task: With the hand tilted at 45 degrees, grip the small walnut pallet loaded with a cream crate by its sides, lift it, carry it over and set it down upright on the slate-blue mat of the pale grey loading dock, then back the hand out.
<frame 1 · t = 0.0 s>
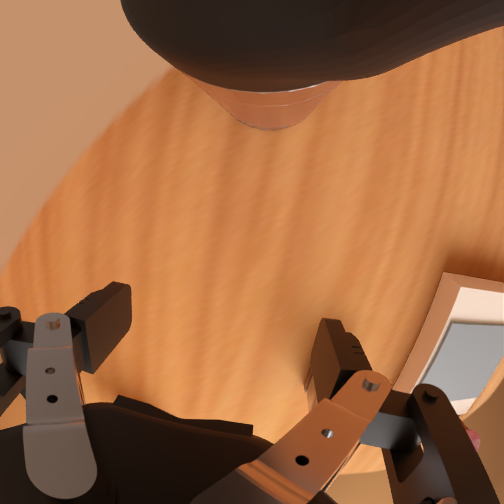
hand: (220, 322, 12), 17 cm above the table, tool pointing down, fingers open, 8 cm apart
cupcake: (443, 423, 37), on the table
loading dock: (453, 347, 31), on the table
loaded pallet: (328, 373, 33), on the table
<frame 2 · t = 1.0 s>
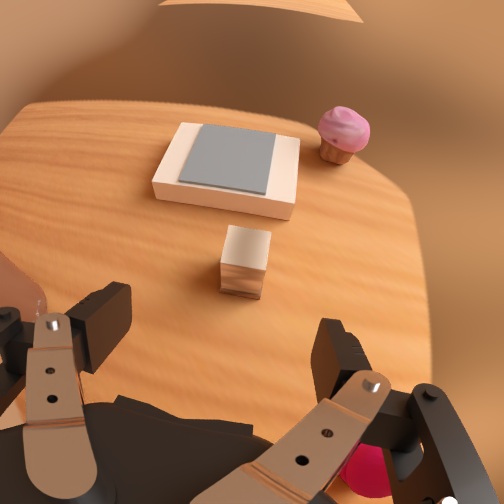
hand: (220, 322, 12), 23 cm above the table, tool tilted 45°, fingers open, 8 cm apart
cupcake: (334, 157, 51), on the table
pepper mill: (361, 463, 27), on the table
loading dock: (230, 174, 46), on the table
loaded pallet: (243, 278, 38), on the table
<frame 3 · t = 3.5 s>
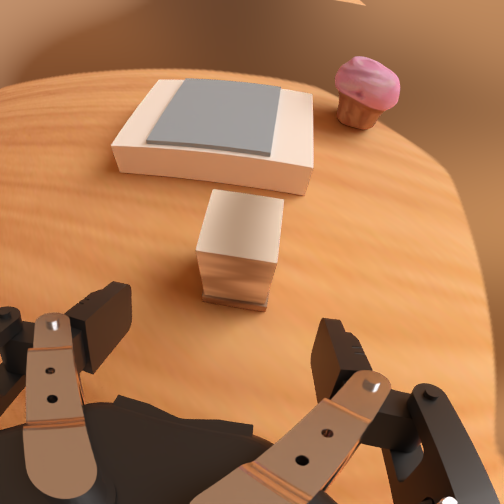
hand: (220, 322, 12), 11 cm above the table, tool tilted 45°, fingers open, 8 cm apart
cupcake: (354, 122, 38), on the table
loading dock: (220, 138, 33), on the table
loaded pallet: (238, 278, 25), on the table
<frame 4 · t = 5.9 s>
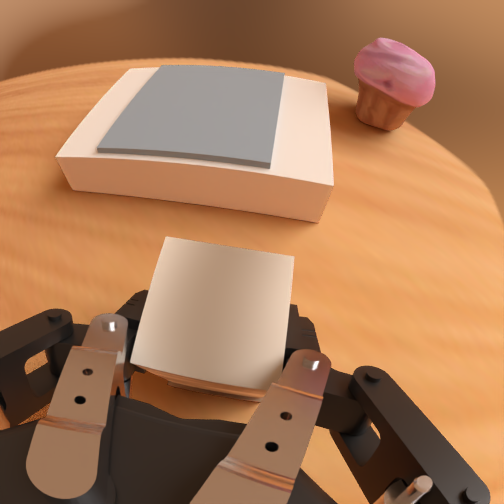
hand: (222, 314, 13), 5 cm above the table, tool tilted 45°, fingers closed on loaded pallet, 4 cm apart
cupcake: (376, 121, 29), on the table
loading dock: (204, 141, 25), on the table
loaded pallet: (223, 353, 16), on the table, touching gripper
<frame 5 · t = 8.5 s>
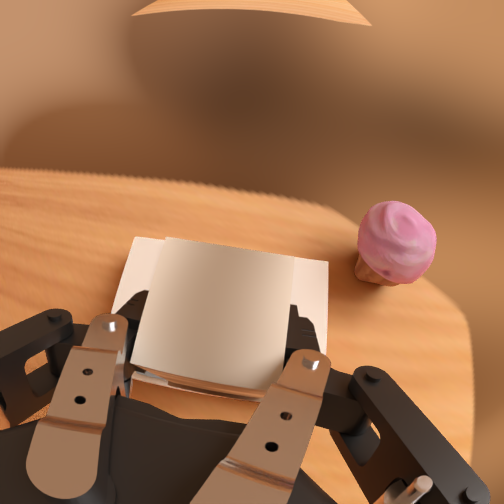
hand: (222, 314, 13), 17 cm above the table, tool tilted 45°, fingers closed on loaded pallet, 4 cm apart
cupcake: (373, 270, 34), on the table
loading dock: (218, 327, 30), on the table
loaded pallet: (223, 353, 16), point 13 cm above the table, touching gripper
when the fingers open (11 cm above the table, at t = 11.1 s): loaded pallet drops 1 cm, resting on loading dock.
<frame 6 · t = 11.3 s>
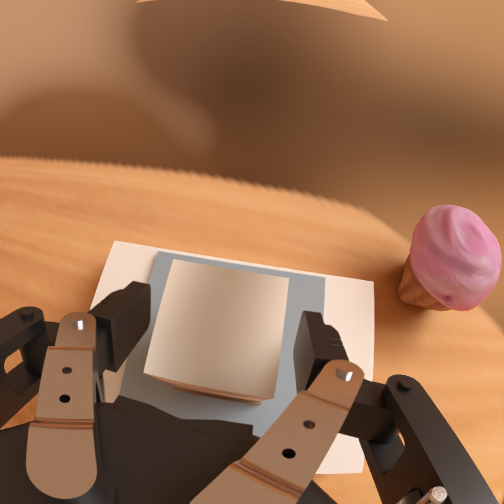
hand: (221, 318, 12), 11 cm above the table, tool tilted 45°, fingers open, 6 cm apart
cupcake: (417, 289, 26), on the table
loading dock: (225, 366, 21), on the table
loaded pallet: (224, 359, 17), point 4 cm above the table, touching loading dock
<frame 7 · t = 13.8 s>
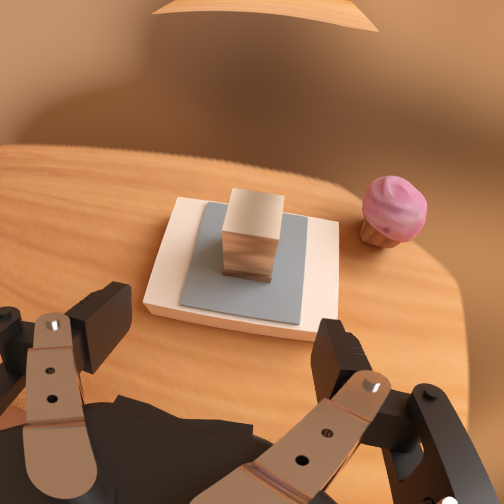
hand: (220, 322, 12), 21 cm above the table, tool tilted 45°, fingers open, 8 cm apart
cupcake: (375, 236, 40), on the table
loading dock: (247, 274, 36), on the table
loaded pallet: (249, 257, 32), point 4 cm above the table, touching loading dock
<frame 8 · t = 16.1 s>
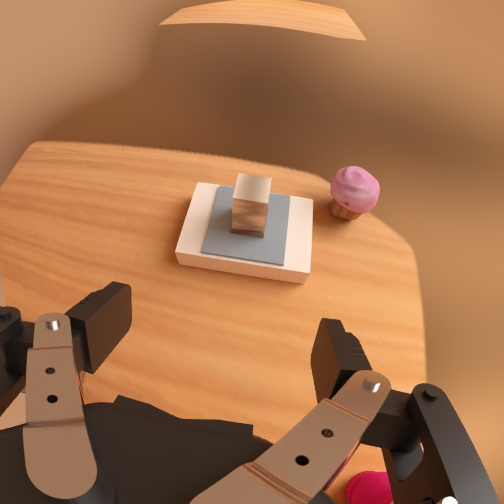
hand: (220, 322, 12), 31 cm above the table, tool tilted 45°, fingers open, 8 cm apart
cupcake: (344, 212, 55), on the table
pepper mill: (363, 488, 31), on the table
loading dock: (247, 236, 50), on the table
loaded pallet: (249, 222, 46), point 4 cm above the table, touching loading dock
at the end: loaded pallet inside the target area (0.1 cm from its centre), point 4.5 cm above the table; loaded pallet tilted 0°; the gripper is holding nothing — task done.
